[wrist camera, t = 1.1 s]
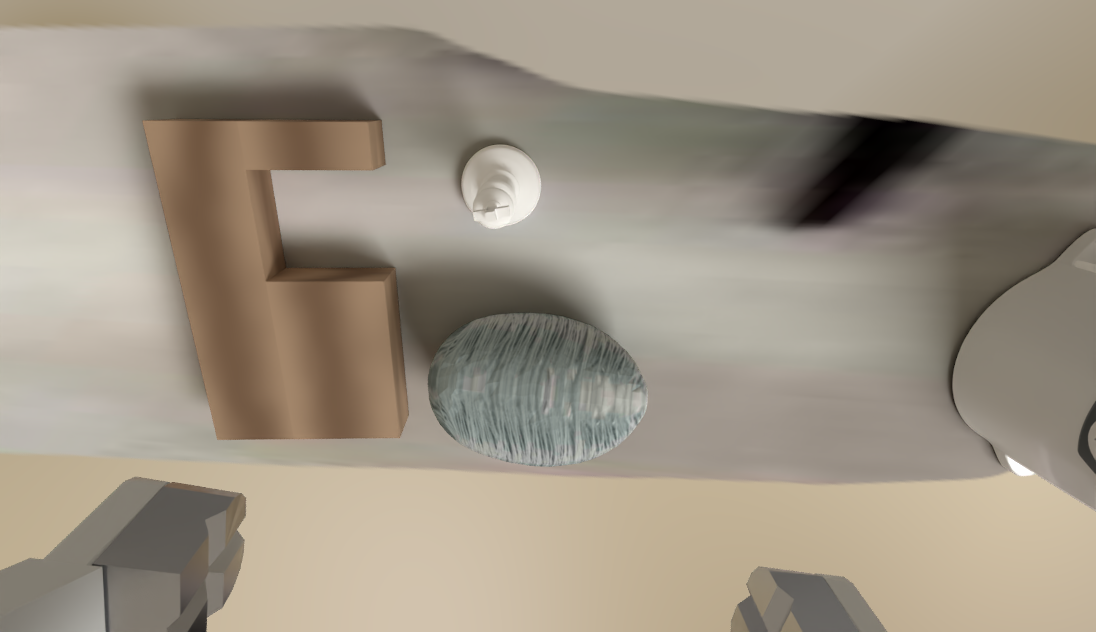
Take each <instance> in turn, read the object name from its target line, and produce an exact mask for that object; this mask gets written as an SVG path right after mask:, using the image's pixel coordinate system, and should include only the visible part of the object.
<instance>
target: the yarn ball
mask: <svg viewBox="0 0 1096 632" xmlns="http://www.w3.org/2000/svg"><path fill="white" fill-rule="evenodd" d="M428 391H429V400H430V404H431V408H432V410H433V412H434V414H435V416H436V418H437V420H438V421H439V423H440V425H441V426H442V427H443V428H444V430H445V431H446V432H447V433H448V434H449V435H450V436H451V437H453V438H454V439H455V440H456V441H457V442H459V443H460V444H461V445H463V446H465V447H467V448H469V449H471V450H473V451H475V452H478V453H480V454H483V455H486V456H489V457H493V458H496V459H499V460H503V461H507V462H511V463H517V464H524V465H530V466H561V465H569V464H576V463H581V462H584V461H587V460H591V459H593V458H596V457H598V456H600V455H602V454H604V453H607V452H608V451H610V450H611V449H613V448H614V447H616V446H618V445H619V444H620V443H621V442H622V441H624V440H625V439H626V438H627V437H628V436H629V435H630V433H631V432H632V431H633V430H634V429H635V427H636V426H637V425H638V424H639V422H640V421H641V419H642V418H643V416H644V414H645V411H646V408H647V401H648V392H647V386H646V383H645V381H644V378H643V377H642V375H641V373H640V371H639V369H638V367H637V365H636V363H635V362H634V360H633V359H632V357H631V356H630V355H629V354H628V352H627V351H626V350H625V349H623V348H622V347H621V346H620V345H619V344H618V342H616V341H615V340H613V339H612V338H611V337H610V336H609V335H607V334H605V333H603V332H602V331H600V330H598V329H597V328H595V327H593V326H591V325H588V324H585V323H582V322H579V321H576V320H573V319H570V318H567V317H563V316H557V315H551V314H542V313H509V314H497V315H491V316H487V317H484V318H479V319H476V320H474V321H472V322H470V323H468V324H466V325H464V326H462V327H460V328H459V329H458V330H456V331H455V332H453V333H452V334H451V335H450V336H449V337H448V338H447V339H446V341H445V342H444V343H443V344H442V345H441V346H440V348H439V349H438V351H437V353H436V354H435V357H434V359H433V362H432V365H431V367H430V370H429V375H428Z"/></svg>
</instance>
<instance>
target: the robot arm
mask: <svg viewBox="0 0 1096 632" xmlns="http://www.w3.org/2000/svg"><path fill="white" fill-rule="evenodd" d="M953 396H954V400H955V404H956V407H957V409H958V411H959V413H960V415H961V417H962V418H963V420H964V421H965V422H966V424H967V425H968V426H969V427H970V428H971V429H972V430H974V431H975V432H976V433H978V434H979V435H981V436H982V437H983V438H985V439H986V440H987V441H989V442H990V443H991V444H992V445H993V448H994V451H995V453H996V455H997V458H998V460H999V462H1000V463H1001V465H1002V466H1003V467H1004V468H1006V469H1007V470H1009V471H1011V472H1012V473H1014V474H1016V475H1018V476H1028V475H1034V474H1036V475H1038V476H1040V477H1041V478H1043V479H1044V480H1046V481H1047V482H1049V483H1051V484H1052V485H1054V486H1055V487H1057V488H1059V489H1060V490H1062V491H1064V492H1065V493H1067V494H1068V495H1070V496H1072V497H1073V498H1075V499H1076V500H1078V501H1080V502H1081V503H1083V504H1085V505H1086V506H1088V507H1090V508H1091V509H1093V510H1094V511H1096V228H1095V229H1092V230H1089V231H1088V232H1086V233H1084V234H1083V235H1082V236H1080V237H1079V238H1078V239H1077V240H1076V241H1075V242H1074V243H1073V244H1071V245H1070V246H1069V247H1068V248H1067V249H1066V250H1065V252H1064V253H1063V254H1062V255H1061V256H1060V257H1059V258H1058V259H1057V260H1056V261H1055V262H1054V263H1052V264H1051V265H1049V266H1048V267H1046V268H1044V269H1043V270H1041V271H1039V272H1037V273H1036V274H1034V275H1032V276H1030V277H1028V278H1026V279H1025V280H1023V281H1021V282H1020V283H1018V284H1016V285H1015V286H1013V287H1012V288H1011V289H1009V290H1008V291H1007V292H1005V293H1004V294H1003V295H1001V296H1000V297H999V298H998V299H997V300H996V301H994V302H993V303H992V304H991V305H990V306H989V307H988V308H987V309H986V311H985V312H984V313H983V314H982V315H981V316H980V317H979V319H978V320H977V321H976V323H975V324H974V325H973V327H972V328H971V330H970V331H969V333H968V335H967V336H966V338H965V340H964V342H963V344H962V346H961V348H960V351H959V353H958V356H957V359H956V363H955V367H954V372H953ZM245 516H246V498H245V496H244V495H243V494H242V493H236V492H230V491H223V490H218V489H212V488H206V487H200V486H194V485H187V484H181V483H175V482H172V483H170V482H165V481H159V480H153V479H147V478H141V477H134V478H132V479H129V480H126V481H125V482H123V483H122V484H121V485H120V486H119V487H118V488H117V489H116V490H115V491H114V492H113V493H112V494H111V495H109V496H108V497H107V498H106V499H105V500H104V501H103V502H102V503H101V504H100V505H99V506H98V507H97V508H96V509H95V510H94V511H93V512H92V513H91V514H90V515H89V516H88V517H87V518H86V519H85V520H83V521H82V522H81V523H80V524H79V525H78V526H77V527H76V528H75V529H74V530H73V531H72V532H71V533H70V534H69V535H68V536H67V537H66V538H65V539H64V540H63V541H62V542H61V543H59V544H58V545H57V546H56V547H55V548H54V549H53V550H52V551H51V552H50V553H49V554H48V555H47V556H46V557H45V558H44V559H33V558H29V559H27V560H24V561H22V562H20V563H17V564H15V565H13V566H11V567H8V568H5V569H3V570H1V571H0V632H206V628H207V617H209V616H210V615H212V614H213V613H215V612H216V611H218V610H220V609H221V608H222V607H223V606H224V604H225V602H226V600H227V599H228V597H229V595H230V593H231V591H232V589H233V587H234V584H235V581H236V579H237V576H238V573H239V571H240V567H241V563H242V558H243V553H244V539H243V537H242V536H241V535H240V534H239V532H238V531H237V528H238V527H239V526H240V524H241V522H242V521H243V519H244V518H245ZM747 587H748V590H749V592H750V596H749V597H748V598H746V599H745V600H743V601H742V602H740V603H739V604H738V605H737V607H736V609H735V612H734V615H733V618H732V620H731V632H887V631H886V629H885V628H884V626H883V625H882V624H881V622H880V621H879V619H878V618H877V617H876V615H875V614H874V613H873V611H872V610H871V608H870V607H869V605H868V604H867V603H866V601H865V600H864V598H863V597H862V596H861V594H860V593H859V591H858V590H857V588H856V587H855V586H854V584H853V583H851V582H850V581H849V580H847V579H846V578H845V577H841V576H832V575H824V574H810V573H804V572H797V571H796V572H795V571H789V570H781V569H774V568H767V567H758V568H757V569H755V570H754V571H753V572H752V573H751V576H750V578H749V580H748V582H747Z"/></svg>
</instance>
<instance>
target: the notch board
mask: <svg viewBox="0 0 1096 632" xmlns="http://www.w3.org/2000/svg"><path fill="white" fill-rule="evenodd" d="M143 126H144V130H145V134H146V138H147V143H148V147H149V151H150V155H151V160H152V164H153V168H154V172H155V177H156V181H157V185H158V189H159V194H160V198H161V202H162V206H163V211H164V215H165V219H166V223H167V228H168V232H169V236H170V240H171V245H172V249H173V253H174V257H175V262H176V266H177V270H178V274H179V279H180V283H181V287H182V291H183V296H184V300H185V304H186V308H187V313H188V317H189V321H190V325H191V330H192V334H193V338H194V342H195V347H196V351H197V355H198V359H199V363H200V368H201V372H202V376H203V380H204V385H205V389H206V393H207V397H208V402H209V406H210V410H211V414H212V419H213V423H214V427H215V431H216V436H217V440H240V439H341V438H400V436H401V433H402V431H403V428H404V426H405V423H406V421H407V418H408V415H409V411H408V401H407V390H406V379H405V368H404V357H403V347H402V336H401V325H400V314H399V303H398V293H397V282H396V271H395V268H286V265H285V258H284V252H283V246H282V240H281V234H280V228H279V222H278V216H277V210H276V204H275V198H274V191H273V185H272V179H271V173H270V170H375V169H377V168H379V167H381V166H384V165H386V163H385V152H384V142H383V131H382V120H255V119H165V120H146V121H143Z"/></svg>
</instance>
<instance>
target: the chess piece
mask: <svg viewBox="0 0 1096 632" xmlns="http://www.w3.org/2000/svg"><path fill="white" fill-rule="evenodd" d="M461 188H462V194H463V198H464V200H465V203H466V205H467V206H468V208H469V209H470V211H471V212H472V213H473V216H474V221H478V222H479V223H480V224H481V225H483V226H484V227H487V228H490V229H498V228H501V227H503V226H508V225H512V224H515V223H518V222H520V221H521V220H523V219H524V218H526V217H527V216H528V215H529V214H530V213H531V212H532V211H533V210H534V208H535V206H536V205H537V203H538V200H539V197H540V193H541V179H540V175H539V172H538V169H537V167H536V165H535V164H534V162H533V161H532V159H531V158H530V157H529V156H528V155H527V154H525V153H524V152H523V151H521V150H519V149H518V148H515V147H513V146H509V145H501V144H500V145H491V146H488V147H485V148H483V149H481V150H479V151H478V152H477V153H475V154H474V155H473V156H472V157H471V158H470V160H469V161H468V162H467V164H466V166H465V168H464V171H463V174H462V180H461Z"/></svg>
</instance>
